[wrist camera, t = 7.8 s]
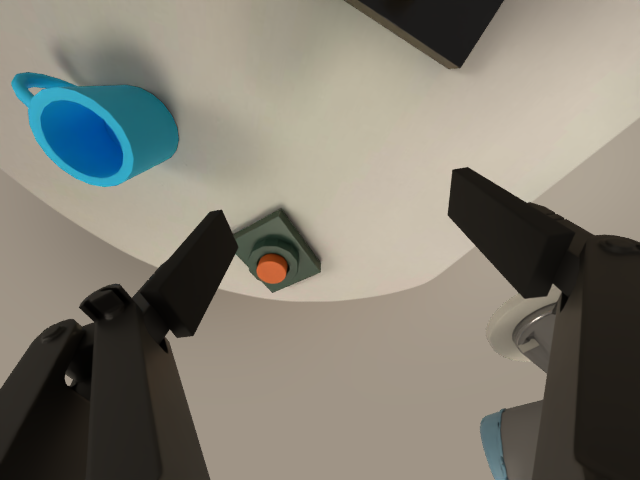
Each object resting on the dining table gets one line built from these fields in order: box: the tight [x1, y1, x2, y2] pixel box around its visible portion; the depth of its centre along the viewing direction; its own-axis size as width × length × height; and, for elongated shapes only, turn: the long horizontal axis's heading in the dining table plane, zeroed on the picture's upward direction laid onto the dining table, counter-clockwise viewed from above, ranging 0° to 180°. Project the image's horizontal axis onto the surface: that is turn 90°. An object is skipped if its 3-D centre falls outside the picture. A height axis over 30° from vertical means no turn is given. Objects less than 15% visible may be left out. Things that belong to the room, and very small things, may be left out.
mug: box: [11, 72, 179, 187], centre depth 24 cm, size 12×8×8 cm
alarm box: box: [233, 209, 321, 293], centre depth 36 cm, size 11×9×4 cm
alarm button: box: [257, 254, 288, 284], centre depth 34 cm, size 4×4×2 cm
